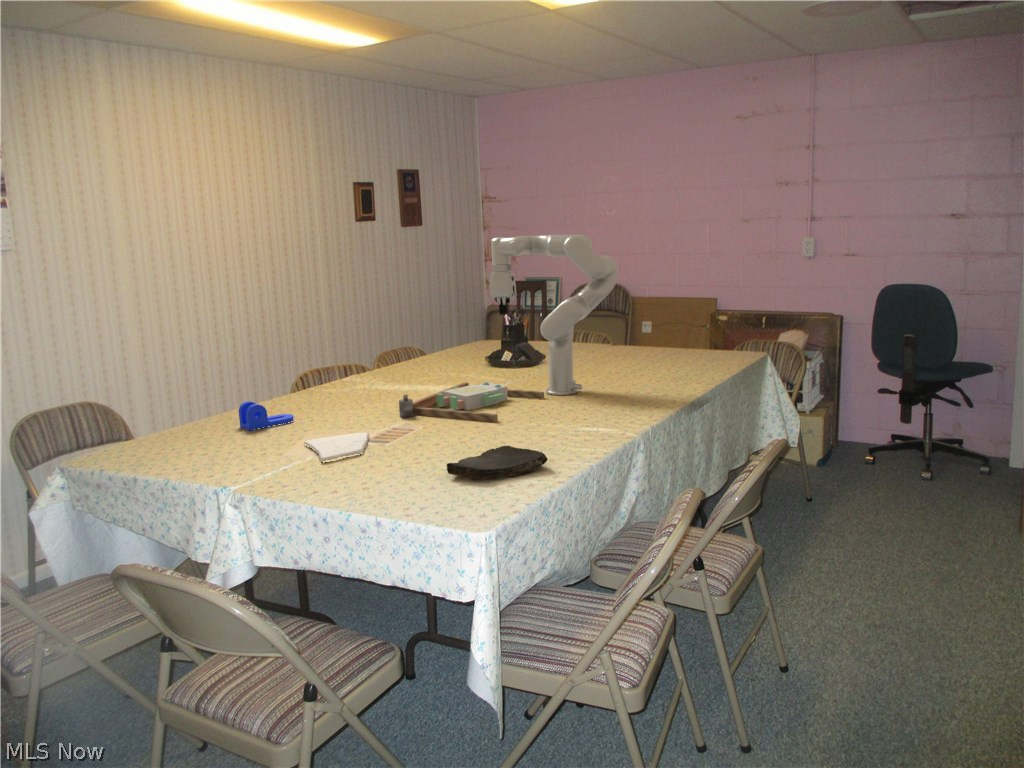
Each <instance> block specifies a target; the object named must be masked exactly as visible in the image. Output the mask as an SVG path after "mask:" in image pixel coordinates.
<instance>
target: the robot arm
mask: <svg viewBox="0 0 1024 768" xmlns="http://www.w3.org/2000/svg"><path fill="white" fill-rule="evenodd" d="M490 245H491V249H490V250H491V266H492V272H490V277H489V295H490V300H492V301H495V302H496V304H497V305H498V312H499V315H500V316H501V315H503V316H504V315H507V314H508V305H509V303H510V302H511V301H514V300H516V295H517V284H516V279H515V273H514V271H512V270H514V268H515V266H514V265H512V261H511V259H512V258H511V256H513V257H519V256H526V255H527V256H528V255H534V256H535V255H541V256H542V255H544V256H549V257H550V258H569V259H570V261H571V262H572V263H574V265H576V267H577V268H579V269H580V271H582V273H584V275H586V276H587V277H588V278H590V279H591V280H590V281H589V282H588V283H587V284H586V285H585V286H584V287H583V288H582V289H581V290H580V291H579V292H577V294H575V295H573V296H571V297H567V298H566V299H564V300H563V301H561V302H560V304H558V305H557V306H556V307H555V308H554V309H553V310H552V311H551V312H550V313H549V314H548V315H547V316H546V317H545V318H544V319H543V320H542V322H541V324H540V334H541V336H542V337H543V339H545V340H547V341H548V376H549V377H548V378H549V379H548V381H549V382H548V383H549V387H547V388H546V389H545V393H546V394H548V395H551V394H552V396H567V395H573V394H576V393H577V392H578V390H581V391H582V389H583V384H582V383H577V382H576V380H575V379H574V364H573V363H574V362H573V361H574V359H573V345H574V343H573V342H574V341H573V340H574V331H575V330H574V326H575V325H576V324H577V323H578V322H579V321H582V320H583V319H585V318H586V317H587V316H588V315H589V314H590V313H591V312H592V311H593V310H594V309H595V308H596V307H597V306H599V304H600V303H601V302H602V301H603V300H604V299H605V298H606V297H607V296H608V295H610V293H611V292H612V290H613V289H614V287H616V284H617V281H618V277H619V276H618V275H619V270H618V265H617V263H616V261H615V259H614V258H613V257H611V256H610V255H608V254H607V255H605V254H603V255H602V254H599V255H598V254H597V253H596V252H595V250H593V243H592V240H591V238H590V237H589V236H587V235H585V234H549V235H519V236H511V237H507V236H506V237H505V236H503V237H501V236H500V237H499V236H498V237H493V238H492V239H491V242H490Z"/></svg>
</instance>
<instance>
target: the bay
mask: <svg viewBox="0 0 1024 768" xmlns="http://www.w3.org/2000/svg"><path fill="white" fill-rule="evenodd" d="M469 383H470V382H461V383H459V384H457V385H455V386H452V387H449V388H446V389H444V390H441V391H439V392H436V393H441V394H443V391H446V390H451V389H453V387H458V388H460V387H465V386H470V385H469ZM436 393H433V394H431V395H428V396H427V395H426V397H422V398H420V399H417V400H413V399H412V398H409V396H408V394H406V393H405V394H403V395H402V397H403V398H402V399H399V400H398V408H399V409H398V410H399V411H398V412H399V418H400V417H401V418H400V419H409V418H413V417H414V415H415V416H423V417H424V416H425V417H434V418H444V419H445V418H446V419H454V420H463V421H464V420H466V421H474V420H475V421H477V422H485V421H486V422H487V423H497V422H499V421H498V419H499V418H498V414H497V413H488V412H478V411H477V412H476V411H469V410H453V409H443V408H434V407H436V406H437V403H436ZM507 396H509V397H508V398H510V397H511V398H519V397H525V398H524V399H532V398H539V399H538V400H543V399H542V398H544V399H545V392H544V391H533V390H524V389H522V390H521V389H510V388H509V389H508V388H507ZM437 407H438V406H437ZM486 422H485V423H486Z"/></svg>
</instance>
